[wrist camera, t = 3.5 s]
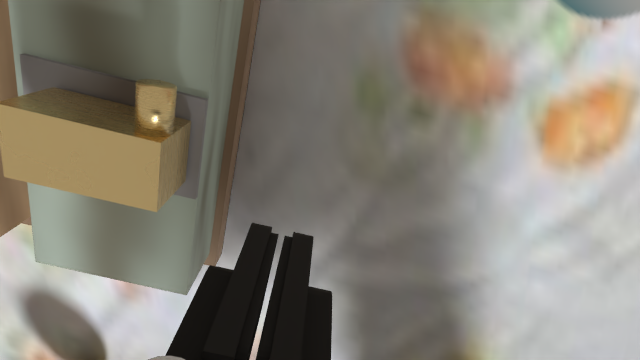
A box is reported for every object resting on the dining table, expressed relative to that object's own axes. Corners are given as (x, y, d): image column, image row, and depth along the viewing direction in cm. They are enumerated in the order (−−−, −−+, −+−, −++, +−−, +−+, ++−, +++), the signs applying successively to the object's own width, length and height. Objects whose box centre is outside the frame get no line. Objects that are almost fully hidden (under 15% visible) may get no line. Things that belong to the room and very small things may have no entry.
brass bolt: (194, 80, 16) (163, 94, 13) (185, 180, 18) (156, 212, 15) (50, 43, 15) (-13, 51, 13) (57, 150, 17) (4, 177, 15)
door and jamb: (271, -71, 18) (218, -133, 10) (221, 253, 27) (170, 356, 19) (-172, -193, 17) (-606, -364, 9) (-80, 185, 26) (-269, 263, 18)
